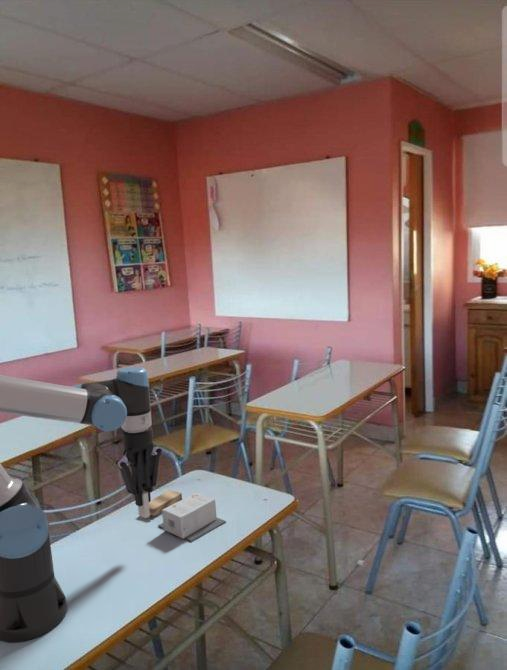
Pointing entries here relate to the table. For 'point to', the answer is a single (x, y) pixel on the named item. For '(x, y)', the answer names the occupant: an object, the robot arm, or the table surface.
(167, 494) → the board eraser
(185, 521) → the small box
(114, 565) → the table surface
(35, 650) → the table surface
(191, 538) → the mat
